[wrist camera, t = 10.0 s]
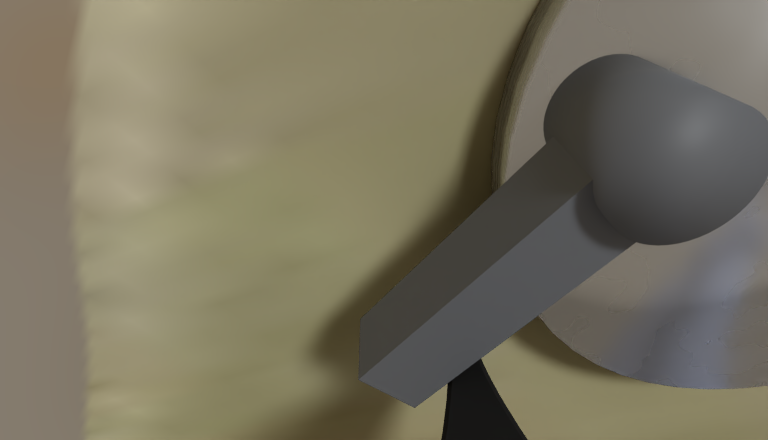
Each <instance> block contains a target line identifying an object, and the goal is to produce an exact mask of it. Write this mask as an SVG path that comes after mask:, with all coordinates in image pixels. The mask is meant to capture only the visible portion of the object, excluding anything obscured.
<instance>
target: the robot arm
mask: <svg viewBox="0 0 768 440" xmlns="http://www.w3.org/2000/svg"><path fill="white" fill-rule="evenodd" d="M441 440H527V438H526V437H525V435H524V434H523V432H522V431H521V429H520V428H519V426H518V424H517V423H516V421H515V420H514V418H513V416H512V415H511V413H510V412H509V410H508V408H507V407H506V405H505V404H504V402H503V400H502V398H501V397H500V395H499V393H498V391H497V390H496V388H495V386H494V384H493V382H492V380H491V378H490V376H489V375H488V373H487V371H486V368H485V366H484V364H483V362H482V359H479V360H478V361H477V362H475V363H474V364H473V365H471V366H470V367H469V368H467V369H466V370H465V371H463V372H462V373H461V374H459V375H458V376H457V377H455V378H454V379H453V380H451V381H450V382H449V383H448V388H447V401H446V410H445V418H444V426H443V433H442V439H441Z"/></svg>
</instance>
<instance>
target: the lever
mask: <svg viewBox="0 0 768 440" xmlns="http://www.w3.org/2000/svg"><path fill="white" fill-rule="evenodd" d="M543 131H544V138H545V142H546V144H545V145H544V146H543V147H542V148H541V149H540V150H539V151H538V152H537V153H536V154H535V155H534V156H532V157H531V158H530V159H529V160H528V161H527V162H526V163H525V164H524V165H523V166H522V167H521V168H520V169H519V170H518V171H517V172H516V173H514V174H513V175H512V176H511V177H510V178H509V179H508V180H507V181H506V182H505V183H504V184H503V185H502V186H501V187H500V188H499V189H497V190H496V191H495V192H494V193H493V194H492V195H491V196H490V197H489V198H488V199H487V200H486V201H485V202H484V203H483V204H482V205H481V206H479V207H478V208H477V209H476V210H475V211H474V212H473V213H472V214H471V215H470V216H469V217H468V218H467V219H466V220H465V221H464V222H463V223H461V224H460V225H459V226H458V227H457V228H456V229H455V230H454V231H453V232H452V233H451V234H450V235H449V236H448V237H447V238H446V239H444V240H443V241H442V242H441V243H440V244H439V245H438V246H437V247H436V248H435V249H434V250H433V251H432V252H431V253H430V254H429V255H428V256H426V257H425V258H424V259H423V260H422V261H421V262H420V263H419V264H418V265H417V266H416V267H415V268H414V269H413V270H412V271H411V272H410V273H408V274H407V275H406V276H405V277H404V278H403V279H402V280H401V281H400V282H399V283H398V284H397V285H396V286H395V287H394V288H393V289H391V290H390V291H389V292H388V293H387V294H386V295H385V296H384V297H383V298H382V299H381V300H380V301H379V302H378V303H377V304H376V305H375V306H373V307H372V308H371V309H370V310H369V311H368V312H367V313H366V314H365V315H364V316H363V317H362V318H361V319H360V346H359V376H358V380H360V381H362V382H364V383H366V384H368V385H370V386H372V387H374V388H376V389H378V390H380V391H382V392H384V393H386V394H388V395H390V396H392V397H394V398H396V399H398V400H400V401H402V402H404V403H406V404H408V405H410V406H412V407H414V408H415V407H416V406H418V405H419V404H420V403H422V402H423V401H424V400H426V399H427V398H429V397H430V396H431V395H433V394H434V393H435V392H437V391H438V390H439V389H441V388H442V387H443V386H445V385H446V384H447V383H449V382H450V381H451V380H453V379H454V378H455V377H457V376H458V375H459V374H461V373H462V372H463V371H465V370H466V369H467V368H469V367H470V366H471V365H473V364H474V363H475V362H477V361H478V360H479V359H481V358H482V357H483V356H485V355H486V354H487V353H489V352H490V351H491V350H493V349H494V348H495V347H497V346H498V345H499V344H501V343H502V342H503V341H505V340H506V339H507V338H509V337H510V336H511V335H513V334H514V333H516V332H517V331H518V330H520V329H521V328H522V327H524V326H525V325H526V324H528V323H529V322H530V321H532V320H533V319H534V318H536V317H537V316H538V315H540V314H541V313H542V312H544V311H545V310H546V309H548V308H549V307H550V306H552V305H553V304H554V303H556V302H557V301H558V300H560V299H561V298H562V297H564V296H565V295H566V294H568V293H569V292H570V291H572V290H573V289H574V288H576V287H577V286H578V285H580V284H581V283H582V282H584V281H585V280H586V279H588V278H589V277H590V276H592V275H593V274H594V273H596V272H597V271H598V270H600V269H601V268H602V267H604V266H605V265H607V264H608V263H609V262H611V261H612V260H613V259H615V258H616V257H617V256H619V255H620V254H621V253H623V252H624V251H625V250H627V249H628V248H629V247H631V246H632V245H633V244H635V243H636V242H637V243H641V244H646V245H656V246H660V245H672V244H678V243H683V242H687V241H690V240H693V239H696V238H699V237H701V236H703V235H706V234H708V233H710V232H712V231H714V230H715V229H717V228H719V227H721V226H722V225H724V224H725V223H727V222H728V221H730V220H731V219H732V218H734V217H735V216H736V215H737V214H738V213H740V212H741V211H742V210H743V209H744V208H745V207H746V206H747V205H748V204H749V203H750V202H751V201H752V200H753V198H754V197H755V196H756V195H757V193H758V192H759V191H760V189H761V188H762V186H763V184H764V183H765V181H766V179H767V177H768V120H767V119H766V117H765V116H764V115H763V114H762V113H761V112H760V111H758V110H757V109H755V108H754V107H752V106H750V105H747V104H745V103H743V102H741V101H738V100H736V99H734V98H731V97H729V96H727V95H725V94H722V93H720V92H718V91H715V90H713V89H711V88H709V87H706V86H704V85H702V84H700V83H697V82H695V81H693V80H690V79H688V78H686V77H684V76H681V75H679V74H677V73H674V72H672V71H670V70H668V69H665V68H663V67H661V66H659V65H656V64H654V63H652V62H649V61H647V60H645V59H643V58H640V57H638V56H634V55H630V54H612V55H606V56H603V57H599V58H596V59H594V60H592V61H589V62H587V63H586V64H584V65H582V66H580V67H579V68H578V69H576V70H575V71H573V72H572V73H571V74H570V75H569V76H568V77H567V78H566V79H565V80H564V81H563V82H562V83H561V84H560V85H559V87H558V88H557V89H556V91H555V92H554V94H553V96H552V97H551V99H550V101H549V104H548V106H547V109H546V112H545V116H544V122H543Z"/></svg>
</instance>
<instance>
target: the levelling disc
mask: <svg viewBox="0 0 768 440" xmlns="http://www.w3.org/2000/svg"><path fill="white" fill-rule="evenodd" d="M612 54H630V55H634V56H638V57H640V58H643V59H645V60H647V61H649V62H652V63H654V64H656V65H659V66H661V67H663V68H665V69H668V70H670V71H672V72H674V73H677V74H679V75H681V76H684V77H686V78H688V79H690V80H693V81H695V82H697V83H700V84H702V85H704V86H706V87H709V88H711V89H713V90H715V91H718V92H720V93H722V94H725V95H727V96H729V97H731V98H734V99H736V100H738V101H741V102H743V103H745V104H747V105H750V106H752V107H754V108H755V109H757V110H758V111H760V112H761V113H762V114H763V115H764V116H765V117H766V119H767V120H768V0H541V1H540V3H539V5H538V7H537V9H536V11H535V13H534V14H533V16H532V18H531V20H530V22H529V24H528V26H527V28H526V31H525V33H524V36H523V38H522V41H521V43H520V46H519V48H518V51H517V53H516V56H515V58H514V61H513V63H512V66H511V68H510V71H509V74H508V77H507V81H506V85H505V89H504V92H503V96H502V100H501V104H500V107H499V111H498V115H497V120H496V127H495V135H494V142H493V150H492V157H491V158H492V194H493V193H494V192H495V191H496V190H497V189H499V188H500V187H501V186H502V185H503V184H504V183H505V182H506V181H507V180H508V179H509V178H510V177H511V176H512V175H513V174H514V173H516V172H517V171H518V170H519V169H520V168H521V167H522V166H523V165H524V164H525V163H526V162H527V161H528V160H529V159H530V158H531V157H532V156H534V155H535V154H536V153H537V152H538V151H539V150H540V149H541V148H542V147H543V146H544V145H545V144H546V142H545V138H544V131H543V122H544V116H545V112H546V109H547V106H548V104H549V101H550V99H551V97H552V96H553V94H554V92H555V91H556V89H557V88H558V87H559V85H560V84H561V83H562V82H563V81H564V80H565V79H566V78H567V77H568V76H569V75H570V74H571V73H572V72H573V71H575V70H576V69H578V68H579V67H580V66H582V65H584V64H586V63H587V62H589V61H592V60H594V59H596V58H599V57H603V56H606V55H612ZM538 316H539V317H540V318H541V319H542V321H543V322H544V323H545V324H546V326H547V327H548V328H549V329H550V330H551V332H552V333H553V334H554V335H556V336H557V337H558V338H559V339H560V340H561V341H563V342H564V343H565V344H566V345H567V346H568V347H570V348H571V349H572V350H573V351H575V352H577V353H578V354H580V355H582V356H583V357H585V358H586V359H588V360H590V361H591V362H593V363H595V364H597V365H599V366H601V367H604V368H606V369H608V370H611V371H613V372H615V373H618V374H620V375H623V376H627V377H630V378H634V379H638V380H641V381H645V382H648V383H654V384H661V385H667V386H673V387H682V388H697V389H735V388H749V387H759V386H768V177H767V179H766V181H765V183H764V184H763V186H762V188H761V189H760V191H759V192H758V193H757V195H756V196H755V197H754V198H753V200H752V201H751V202H750V203H749V204H748V205H747V206H746V207H745V208H744V209H743V210H742V211H741V212H740V213H738V214H737V215H736V216H735V217H734V218H732V219H731V220H730V221H728V222H727V223H725V224H724V225H722V226H721V227H719V228H717V229H715V230H714V231H712V232H710V233H708V234H706V235H703V236H701V237H699V238H696V239H693V240H690V241H687V242H683V243H678V244H672V245H660V246H656V245H646V244H641V243H637V242H636V243H635V244H633V245H632V246H631V247H629V248H628V249H627V250H625V251H624V252H623V253H621V254H620V255H619V256H617V257H616V258H615V259H613V260H612V261H611V262H609V263H608V264H607V265H605V266H604V267H602V268H601V269H600V270H598V271H597V272H596V273H594V274H593V275H592V276H590V277H589V278H588V279H586V280H585V281H584V282H582V283H581V284H580V285H578V286H577V287H576V288H574V289H573V290H572V291H570V292H569V293H568V294H566V295H565V296H564V297H562V298H561V299H560V300H558V301H557V302H556V303H554V304H553V305H552V306H550V307H549V308H548V309H546V310H545V311H544V312H542V313H541V314H540V315H538Z"/></svg>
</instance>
